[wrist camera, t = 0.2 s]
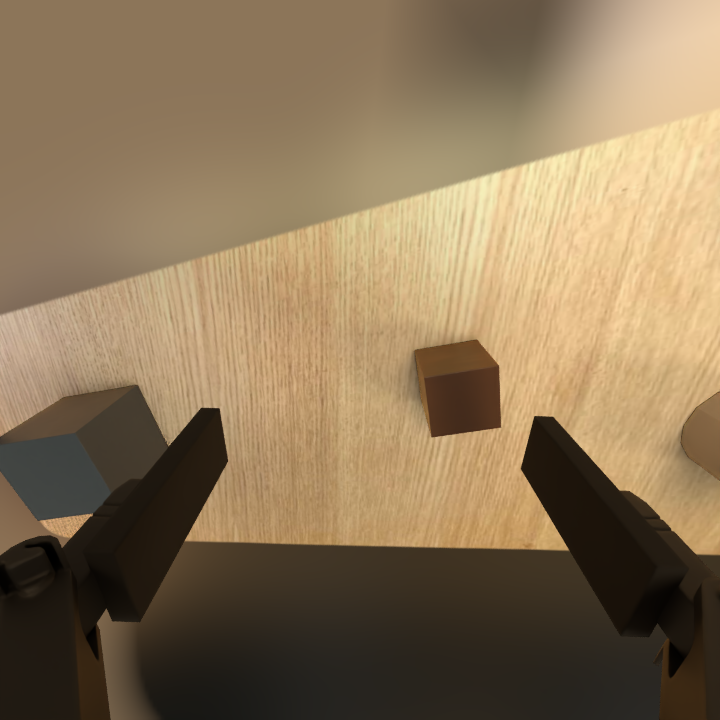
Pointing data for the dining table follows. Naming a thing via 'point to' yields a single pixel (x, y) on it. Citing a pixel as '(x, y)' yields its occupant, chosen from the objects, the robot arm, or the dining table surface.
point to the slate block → (80, 451)
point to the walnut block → (459, 388)
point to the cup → (704, 436)
